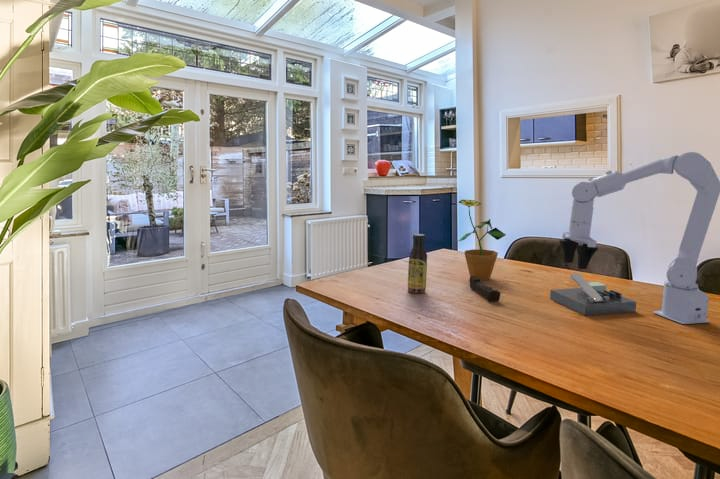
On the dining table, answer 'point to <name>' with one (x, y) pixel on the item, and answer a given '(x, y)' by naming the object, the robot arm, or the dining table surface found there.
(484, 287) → the hand tool
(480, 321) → the dining table surface
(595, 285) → the catch
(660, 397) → the dining table surface
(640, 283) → the dining table surface
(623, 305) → the heatsink block
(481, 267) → the potted plant
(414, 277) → the sauce bottle
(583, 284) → the grey flat bar
